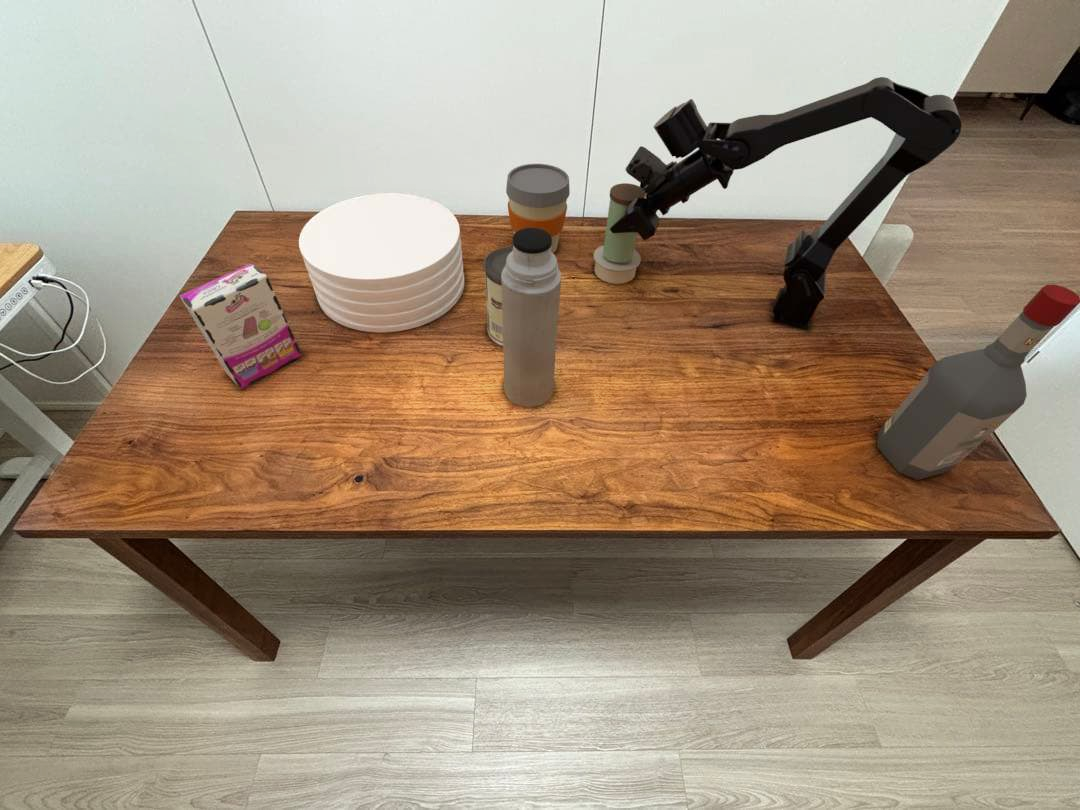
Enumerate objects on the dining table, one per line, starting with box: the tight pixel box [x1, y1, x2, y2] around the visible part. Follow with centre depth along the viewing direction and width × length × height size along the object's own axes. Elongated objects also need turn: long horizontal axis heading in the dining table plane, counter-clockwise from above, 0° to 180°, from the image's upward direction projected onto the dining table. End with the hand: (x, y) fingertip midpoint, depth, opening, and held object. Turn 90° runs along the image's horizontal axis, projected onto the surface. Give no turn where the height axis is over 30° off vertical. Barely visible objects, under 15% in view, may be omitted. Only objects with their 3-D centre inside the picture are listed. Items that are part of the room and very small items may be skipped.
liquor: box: [876, 284, 1080, 481], centre depth 70 cm, size 9×9×30 cm
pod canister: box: [603, 182, 646, 263], centre depth 102 cm, size 6×6×13 cm
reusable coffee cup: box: [505, 163, 571, 254], centre depth 109 cm, size 12×13×15 cm
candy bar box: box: [179, 263, 303, 390], centre depth 83 cm, size 11×5×16 cm, turn 137°
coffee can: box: [483, 245, 513, 347], centre depth 92 cm, size 10×10×14 cm
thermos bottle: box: [501, 228, 562, 408], centre depth 77 cm, size 8×8×28 cm
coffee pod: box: [593, 244, 641, 285], centre depth 109 cm, size 9×9×4 cm
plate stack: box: [298, 192, 465, 333], centre depth 100 cm, size 28×28×12 cm
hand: (616, 222), depth 102 cm, fingers closed on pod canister, 6 cm apart
